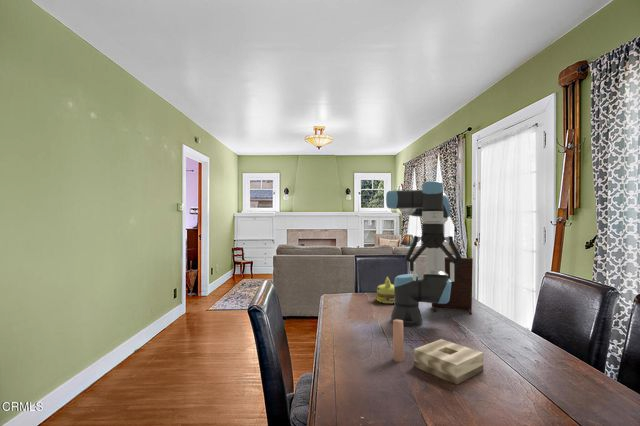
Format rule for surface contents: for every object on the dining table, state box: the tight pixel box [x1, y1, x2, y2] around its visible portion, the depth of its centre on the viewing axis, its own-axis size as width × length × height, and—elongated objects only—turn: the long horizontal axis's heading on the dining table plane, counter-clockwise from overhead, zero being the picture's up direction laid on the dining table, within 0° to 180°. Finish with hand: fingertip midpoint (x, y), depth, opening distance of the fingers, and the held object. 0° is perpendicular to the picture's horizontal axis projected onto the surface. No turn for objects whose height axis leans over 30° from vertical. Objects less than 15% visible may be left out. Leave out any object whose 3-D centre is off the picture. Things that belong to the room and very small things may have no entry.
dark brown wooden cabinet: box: [431, 256, 474, 316], centre depth 187 cm, size 21×11×30 cm, turn 71°
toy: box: [375, 276, 394, 304], centre depth 208 cm, size 16×15×15 cm
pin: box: [392, 319, 404, 363], centre depth 122 cm, size 4×4×14 cm
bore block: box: [413, 338, 484, 385], centre depth 115 cm, size 16×16×6 cm
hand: (433, 280), depth 125 cm, fingers open, 13 cm apart
